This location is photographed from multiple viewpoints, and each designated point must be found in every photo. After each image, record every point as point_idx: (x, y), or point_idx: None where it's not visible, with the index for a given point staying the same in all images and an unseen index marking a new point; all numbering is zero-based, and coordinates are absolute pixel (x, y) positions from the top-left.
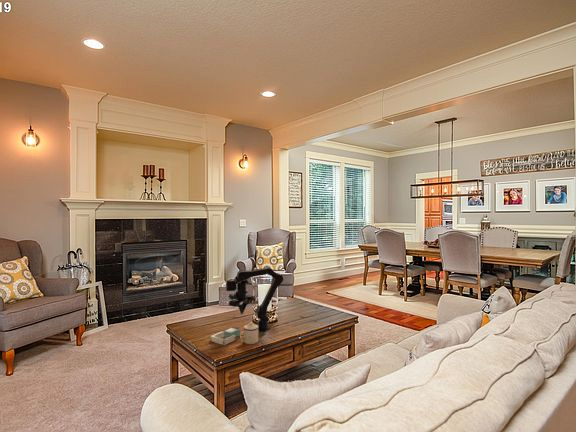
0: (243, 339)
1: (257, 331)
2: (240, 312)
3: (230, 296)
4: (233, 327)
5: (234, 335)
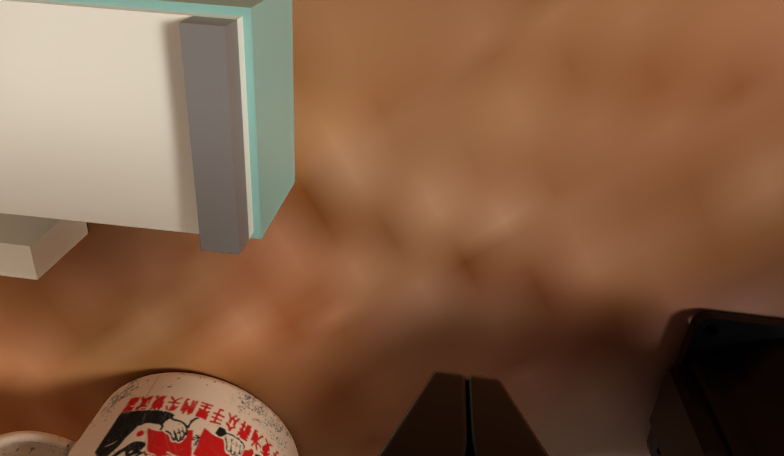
0: (42, 448)
1: None
2: (409, 409)
3: None
4: (192, 82)
5: (13, 276)
